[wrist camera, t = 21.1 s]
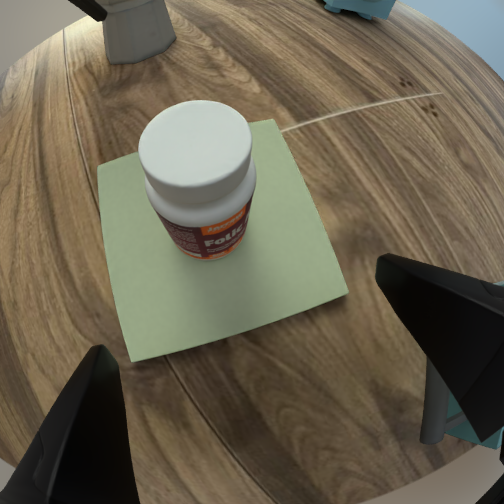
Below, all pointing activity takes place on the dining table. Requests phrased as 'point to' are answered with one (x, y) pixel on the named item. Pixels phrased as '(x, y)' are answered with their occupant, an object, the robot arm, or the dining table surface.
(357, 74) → the dining table surface
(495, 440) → the drawer
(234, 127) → the pill bottle
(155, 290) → the mat
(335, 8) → the teapot
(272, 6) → the dining table surface
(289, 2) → the dining table surface
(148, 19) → the coffee maker
